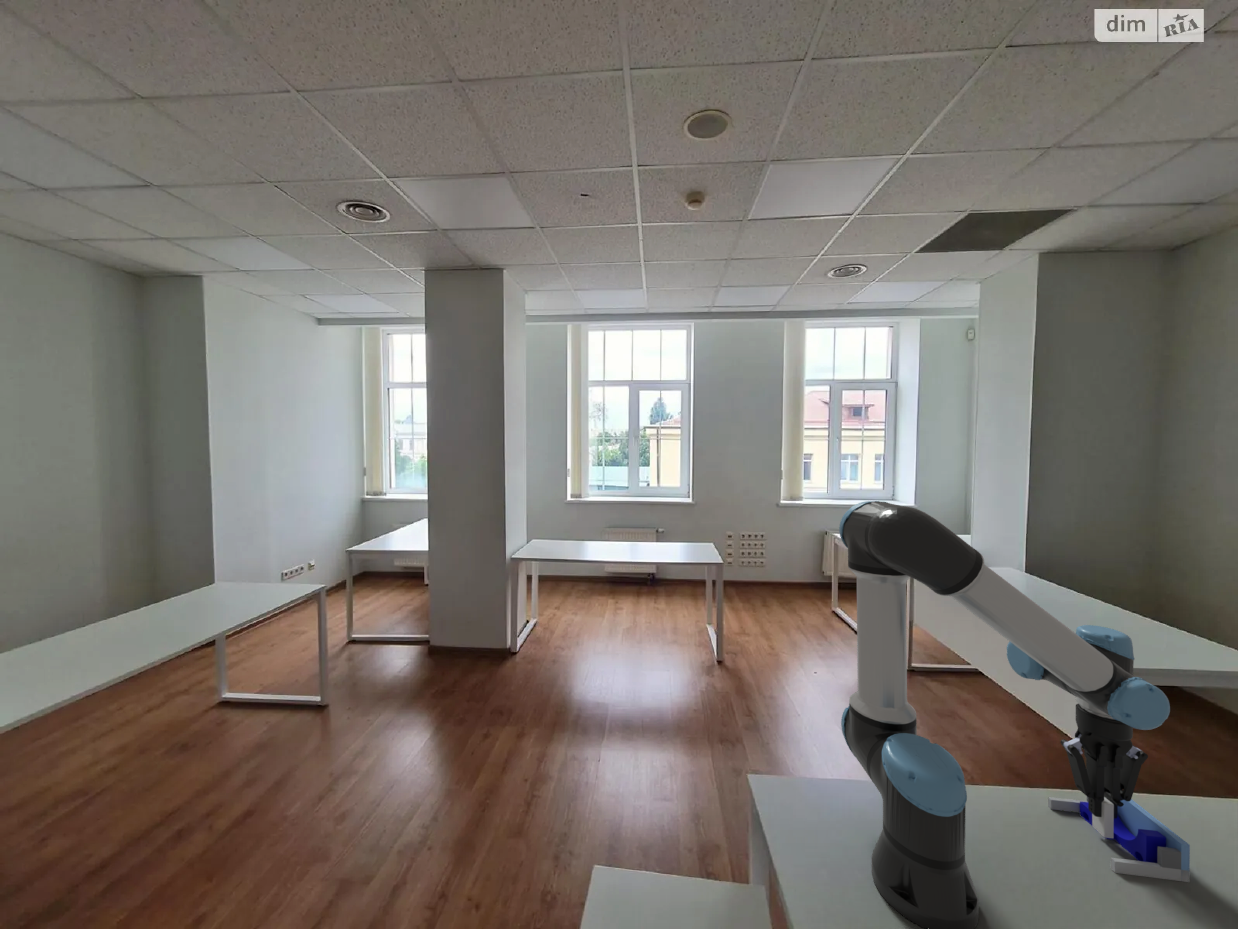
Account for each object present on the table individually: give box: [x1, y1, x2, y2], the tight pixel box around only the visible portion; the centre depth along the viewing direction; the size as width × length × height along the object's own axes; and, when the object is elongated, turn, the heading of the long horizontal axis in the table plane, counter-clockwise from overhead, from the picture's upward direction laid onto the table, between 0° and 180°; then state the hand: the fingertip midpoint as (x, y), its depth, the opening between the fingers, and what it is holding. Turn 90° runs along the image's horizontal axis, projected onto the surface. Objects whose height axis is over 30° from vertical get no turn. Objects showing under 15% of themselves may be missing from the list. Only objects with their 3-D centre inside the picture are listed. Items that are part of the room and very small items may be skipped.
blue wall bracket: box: [1047, 796, 1191, 883], centre depth 87 cm, size 11×16×6 cm
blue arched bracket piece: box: [1079, 802, 1166, 863], centre depth 87 cm, size 12×4×6 cm, turn 171°
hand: (1102, 832), depth 88 cm, fingers closed
